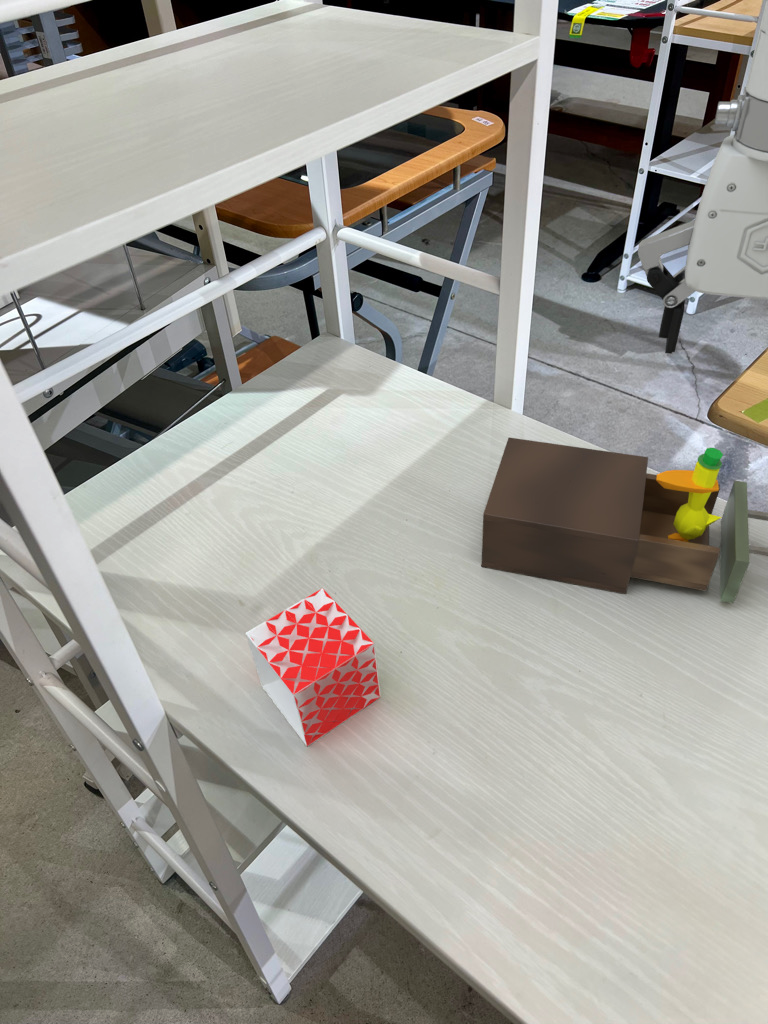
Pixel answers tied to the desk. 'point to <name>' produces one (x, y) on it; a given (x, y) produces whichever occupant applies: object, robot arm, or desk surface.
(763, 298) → the robot arm
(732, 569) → the drawer
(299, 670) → the red patterned cube
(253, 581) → the desk surface
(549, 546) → the cabinet
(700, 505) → the toy figure
